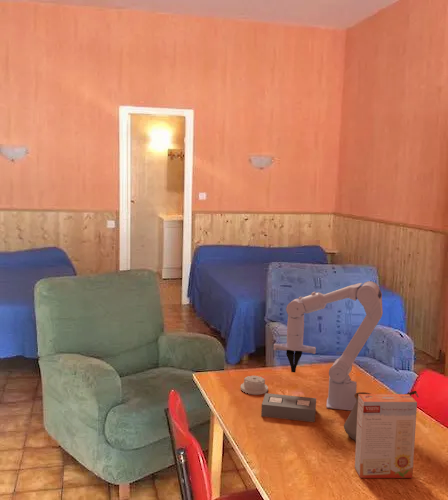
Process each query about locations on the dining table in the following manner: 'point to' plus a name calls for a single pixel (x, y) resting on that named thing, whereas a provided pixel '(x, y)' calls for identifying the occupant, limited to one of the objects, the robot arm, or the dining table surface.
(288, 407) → the block
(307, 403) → the pink matte cube
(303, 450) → the dining table surface
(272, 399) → the greyish pink cube
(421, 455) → the dining table surface
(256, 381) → the mechanical component
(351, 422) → the coffee pot
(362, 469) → the cracker box
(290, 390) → the dining table surface
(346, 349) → the robot arm
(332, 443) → the dining table surface
